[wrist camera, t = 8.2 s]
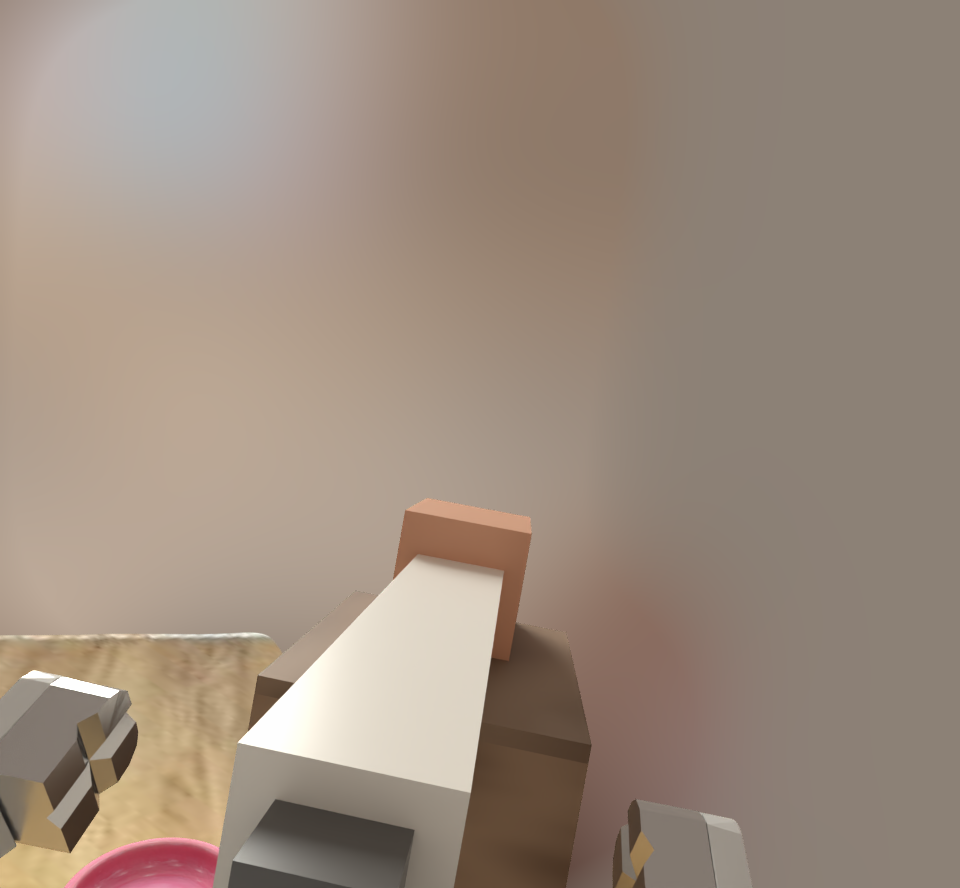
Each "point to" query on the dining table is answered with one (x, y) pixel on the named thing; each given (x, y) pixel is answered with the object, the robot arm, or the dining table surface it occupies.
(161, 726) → the dining table surface
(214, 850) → the saucer
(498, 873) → the walnut stand
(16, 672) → the dining table surface
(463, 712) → the marker
